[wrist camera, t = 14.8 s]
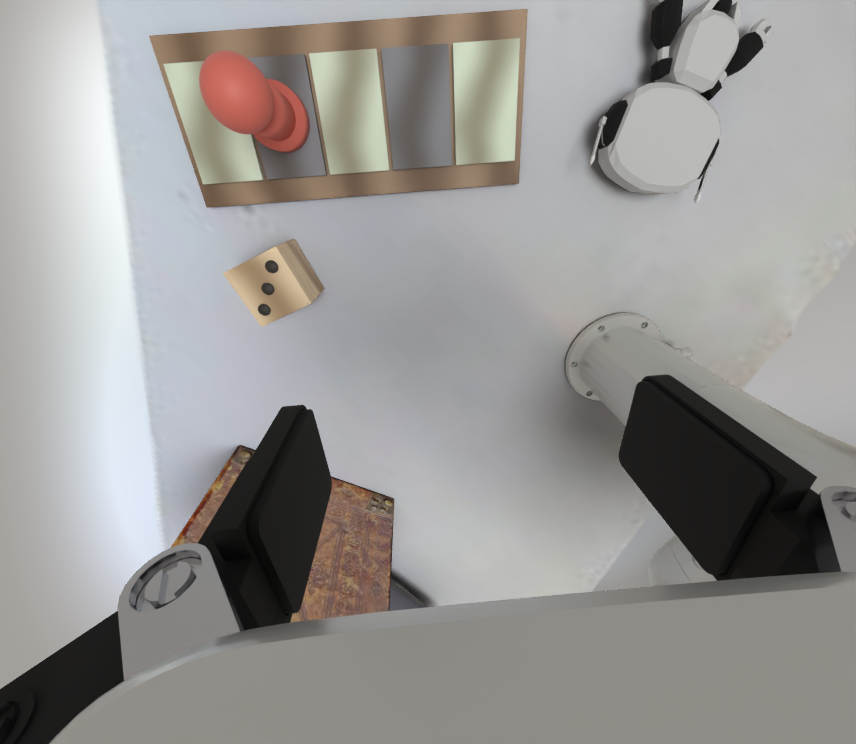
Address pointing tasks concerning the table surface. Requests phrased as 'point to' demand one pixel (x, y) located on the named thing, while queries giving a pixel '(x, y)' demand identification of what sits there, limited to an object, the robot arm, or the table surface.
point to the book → (327, 546)
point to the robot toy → (676, 100)
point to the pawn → (253, 102)
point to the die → (275, 282)
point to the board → (362, 106)
